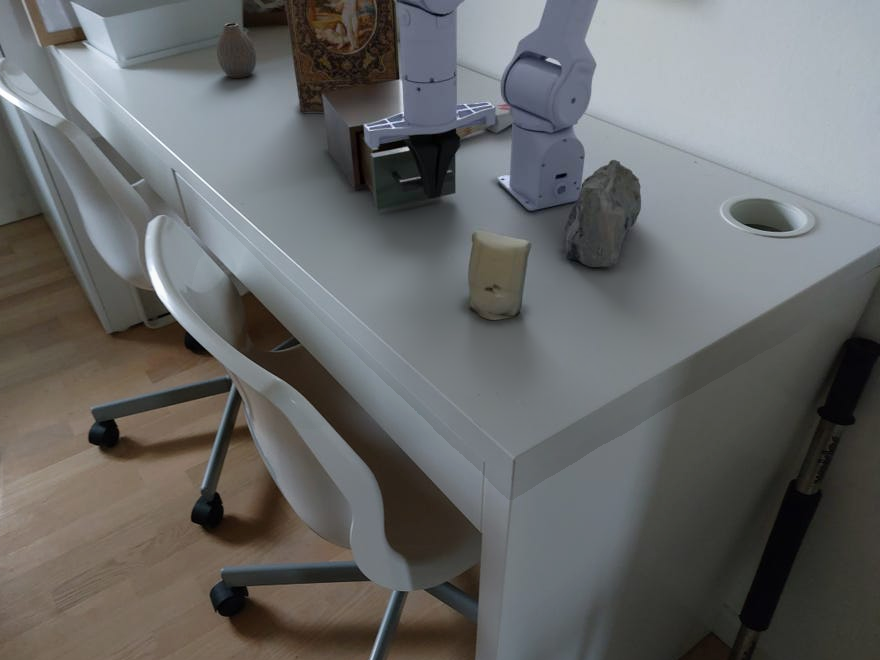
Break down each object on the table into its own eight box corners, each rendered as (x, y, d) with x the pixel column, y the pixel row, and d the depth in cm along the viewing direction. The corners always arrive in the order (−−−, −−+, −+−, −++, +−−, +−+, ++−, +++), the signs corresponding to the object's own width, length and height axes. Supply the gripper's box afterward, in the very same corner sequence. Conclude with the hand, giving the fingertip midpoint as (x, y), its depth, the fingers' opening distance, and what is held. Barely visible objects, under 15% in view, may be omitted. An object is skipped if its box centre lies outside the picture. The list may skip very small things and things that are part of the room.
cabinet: (437, 174, 96) (436, 111, 91) (355, 191, 94) (348, 127, 88) (403, 137, 106) (401, 79, 101) (328, 152, 104) (321, 92, 98)
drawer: (469, 207, 87) (469, 154, 82) (388, 225, 84) (384, 171, 80) (421, 155, 99) (419, 107, 95) (349, 169, 97) (344, 120, 92)
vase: (217, 73, 134) (207, 23, 128) (253, 66, 136) (244, 17, 130) (226, 83, 129) (216, 32, 124) (263, 76, 131) (254, 25, 126)
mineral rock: (619, 207, 87) (632, 126, 80) (685, 245, 79) (705, 160, 73) (532, 236, 82) (539, 153, 76) (593, 279, 75) (605, 192, 69)
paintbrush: (546, 96, 108) (440, 137, 100) (545, 114, 109) (441, 155, 102) (529, 89, 110) (424, 128, 103) (528, 106, 112) (425, 146, 104)
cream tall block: (517, 290, 74) (522, 222, 69) (532, 319, 70) (538, 249, 65) (463, 297, 74) (464, 229, 69) (475, 327, 70) (477, 257, 65)
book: (297, 113, 116) (271, -63, 100) (304, 101, 120) (280, -70, 104) (397, 111, 114) (387, -68, 98) (400, 99, 118) (391, -75, 103)
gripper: (477, 52, 78) (475, 168, 87) (351, 73, 75) (362, 192, 84) (506, 71, 73) (500, 192, 82) (371, 94, 70) (381, 218, 78)
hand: (432, 194), depth 82 cm, fingers closed, pressing on drawer
